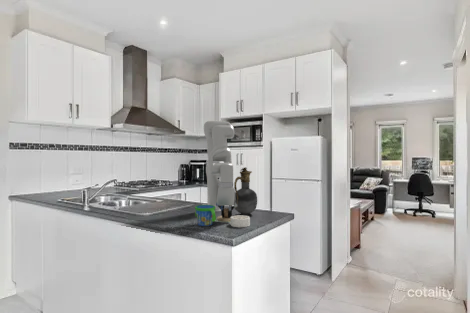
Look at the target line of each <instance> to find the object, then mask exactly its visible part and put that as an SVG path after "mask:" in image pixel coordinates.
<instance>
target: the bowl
mask: <svg viewBox="0 0 470 313" xmlns="http://www.w3.org/2000/svg"><path fill="white" fill-rule="evenodd" d="M229 224H230V226H231V227H233V228H247V227H250V225H251V216H244V215H239V214H238V215H232V217H230V223H229Z"/></svg>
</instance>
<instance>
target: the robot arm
mask: <svg viewBox="0 0 470 313" xmlns="http://www.w3.org/2000/svg"><path fill="white" fill-rule="evenodd" d="M203 133H204V137H205V139H206V144H207V145H206V148H207V150H206V151H207V165H206V167H205V174H206V181H207V184H206V185H207V186H206V187H207V188H206V189H207V191H206V192H207V196H206V197H207V198H206V200H207V203H202V204H201V205H213V206H215V210H214V211H215V213H216V212H220V214H221V215H220V216H222V218H223V217H224V208H225V206H228V208H229V211H228V218H230V217H231V216H233V210H235V207H237V206H238V204H237V202H236V196H235V189H234V165H233V164H232V153H231V149H230V148H229V147H228V143H227V142H228V141H227V139H230V140H231V139H233V138H234V137H235V128H234V126H233V125H232V124H231V122H229V121H224V120H222V121H221V120H208V121H205V122H204V124H203Z"/></svg>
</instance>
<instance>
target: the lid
mask: <svg viewBox="0 0 470 313" xmlns="http://www.w3.org/2000/svg"><path fill="white" fill-rule="evenodd" d="M228 211H229V207H224V217H223V218H222V216H221V215H219V216H216V219H217V220H218V221H222V222H221V223H229V222H230V218H228ZM232 216H233V215H232ZM232 216H231V217H232Z"/></svg>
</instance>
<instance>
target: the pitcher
mask: <svg viewBox="0 0 470 313" xmlns="http://www.w3.org/2000/svg"><path fill="white" fill-rule="evenodd" d="M252 173H253V171H251V170H248V168H247V167H242V168H241V169H240V170H239V174H240V176H237V177H236V178H235V180H234V181H233V188H234V189H235V196H236V202H237V204H238V206H237V207H235V208H234V210H235V211H237V212H238V213H239V214H238V215H244V216H249V217H251V216H252V213H254V211H255V210H256V208H257V205H258V196H257V193H256V192H255V191H254V190H253V189H252V188H250V183H251V180H250V178H251V177H250V176H251V174H252ZM239 180H240V184H241V188H240V189H237V182H238V181H239Z"/></svg>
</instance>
